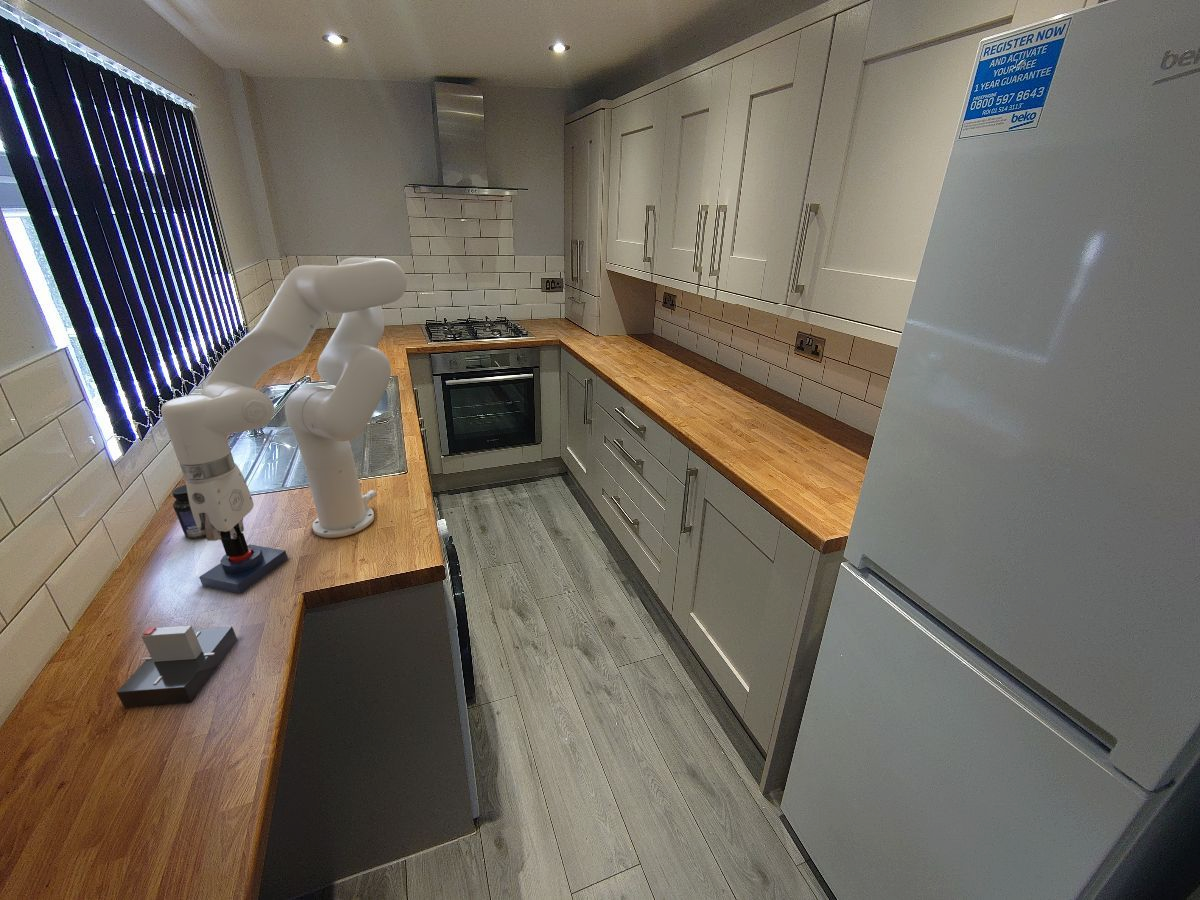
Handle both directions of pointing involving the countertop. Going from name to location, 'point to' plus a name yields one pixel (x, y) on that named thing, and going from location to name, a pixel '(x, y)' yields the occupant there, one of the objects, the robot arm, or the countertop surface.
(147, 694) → the base
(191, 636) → the tap lever
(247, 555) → the button
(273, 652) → the countertop surface
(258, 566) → the button box
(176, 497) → the pill bottle
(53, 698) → the countertop surface
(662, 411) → the countertop surface
